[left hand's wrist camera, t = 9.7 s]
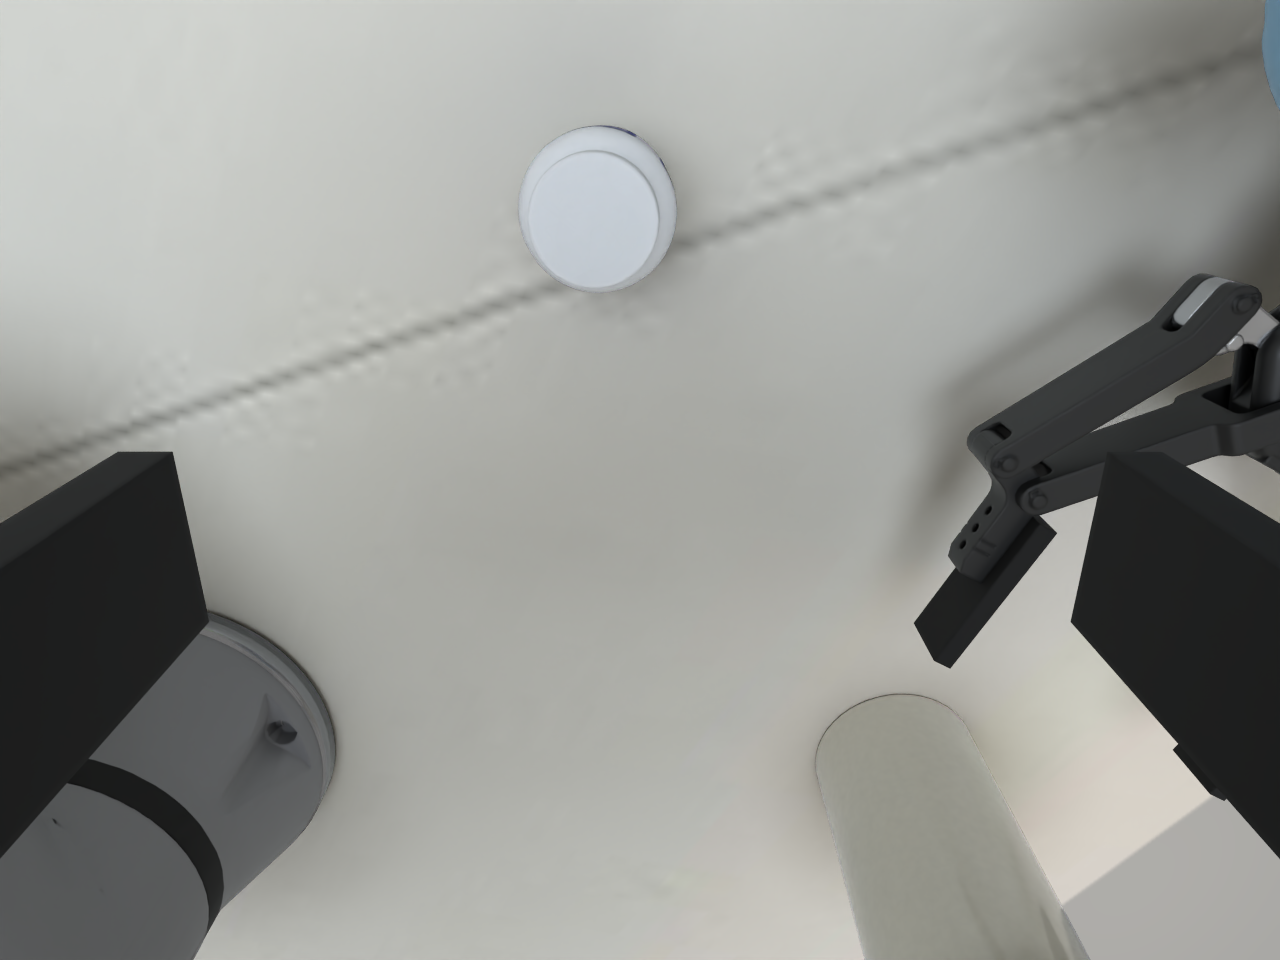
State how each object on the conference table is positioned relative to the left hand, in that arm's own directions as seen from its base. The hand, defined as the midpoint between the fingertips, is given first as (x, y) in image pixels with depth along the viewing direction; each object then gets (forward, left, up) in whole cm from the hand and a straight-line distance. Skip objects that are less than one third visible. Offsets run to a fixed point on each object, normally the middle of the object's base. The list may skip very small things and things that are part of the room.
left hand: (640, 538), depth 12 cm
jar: (-16, -22, -25) cm, 37 cm away
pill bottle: (+2, +3, -25) cm, 25 cm away
